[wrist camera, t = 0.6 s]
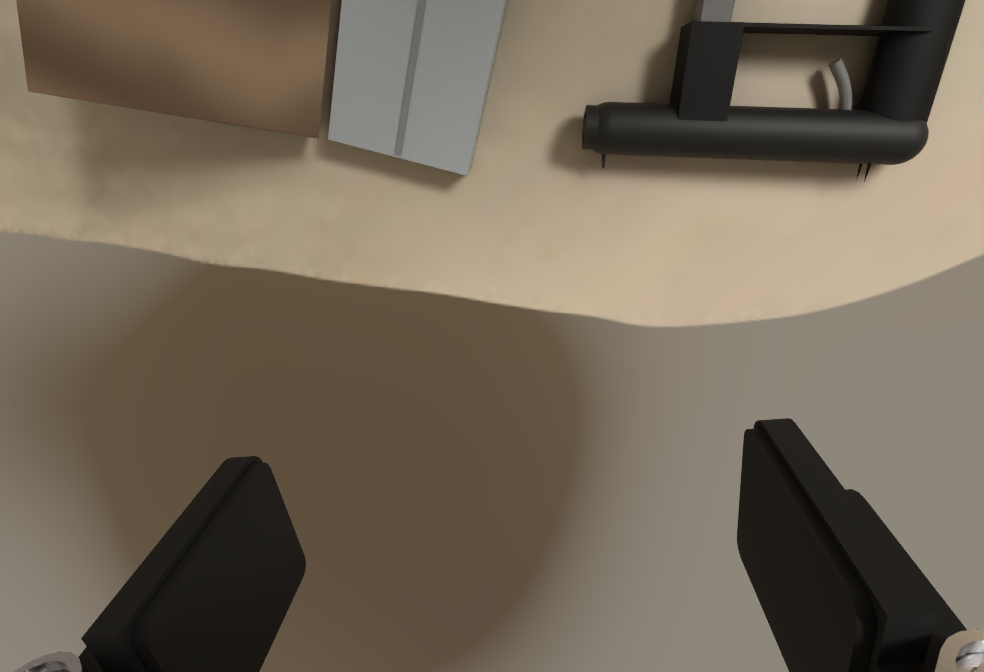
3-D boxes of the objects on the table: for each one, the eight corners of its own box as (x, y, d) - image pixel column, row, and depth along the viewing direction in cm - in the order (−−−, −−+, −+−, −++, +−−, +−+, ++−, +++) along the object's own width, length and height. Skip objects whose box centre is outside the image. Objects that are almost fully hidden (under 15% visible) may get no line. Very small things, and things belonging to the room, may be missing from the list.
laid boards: (371, -174, 29) (360, -190, 27) (534, -127, 29) (534, -141, 27) (338, 136, 36) (327, 139, 34) (470, 170, 36) (467, 176, 34)
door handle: (612, -165, 27) (581, 173, 33) (1038, -162, 26) (924, 187, 32) (603, -137, 30) (577, 168, 36) (984, -133, 29) (890, 180, 35)
